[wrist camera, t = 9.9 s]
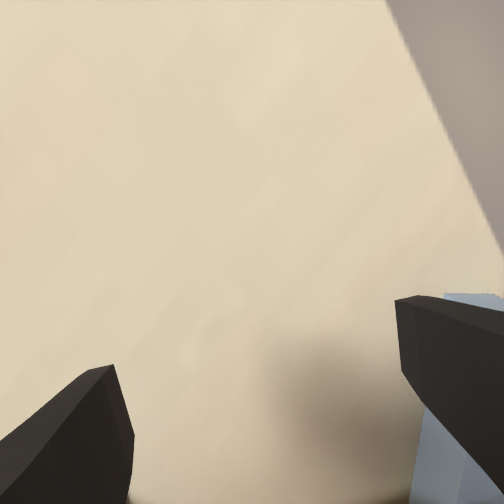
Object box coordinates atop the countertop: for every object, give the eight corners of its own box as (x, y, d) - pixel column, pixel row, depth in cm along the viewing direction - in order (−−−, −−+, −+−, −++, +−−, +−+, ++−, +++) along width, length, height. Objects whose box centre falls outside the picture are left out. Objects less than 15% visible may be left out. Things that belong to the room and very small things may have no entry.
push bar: (405, 505, 25) (442, 569, 22) (441, 291, 22) (493, 322, 18) (448, 502, 26) (492, 564, 22) (490, 292, 23) (550, 322, 19)
